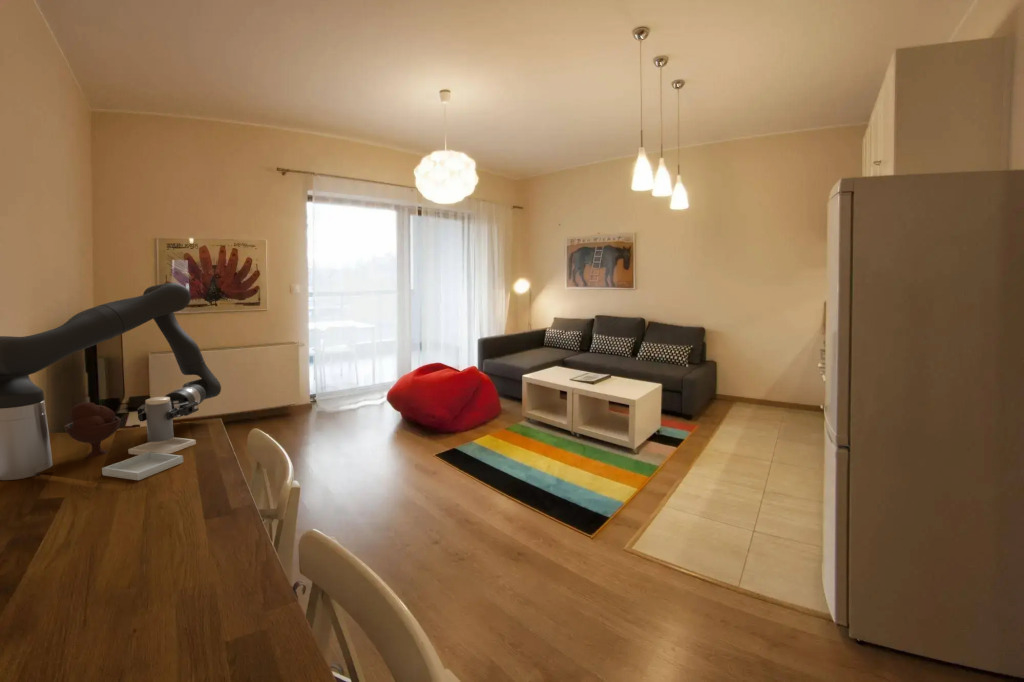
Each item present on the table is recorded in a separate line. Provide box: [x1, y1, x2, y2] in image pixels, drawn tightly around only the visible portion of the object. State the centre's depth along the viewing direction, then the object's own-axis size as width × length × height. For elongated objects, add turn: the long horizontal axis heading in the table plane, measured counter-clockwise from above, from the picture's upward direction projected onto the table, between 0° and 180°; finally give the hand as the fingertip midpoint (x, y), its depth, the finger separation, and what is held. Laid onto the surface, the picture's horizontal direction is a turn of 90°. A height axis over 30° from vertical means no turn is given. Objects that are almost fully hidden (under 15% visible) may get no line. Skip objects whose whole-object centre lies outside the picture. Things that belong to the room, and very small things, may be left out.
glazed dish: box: [101, 452, 184, 481], centre depth 111 cm, size 11×11×2 cm
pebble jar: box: [144, 396, 175, 442], centre depth 122 cm, size 6×6×11 cm
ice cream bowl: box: [63, 401, 122, 458], centre depth 119 cm, size 11×11×15 cm
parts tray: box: [127, 436, 197, 456], centre depth 124 cm, size 10×10×2 cm
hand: (154, 417), depth 120 cm, fingers closed on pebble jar, 5 cm apart
